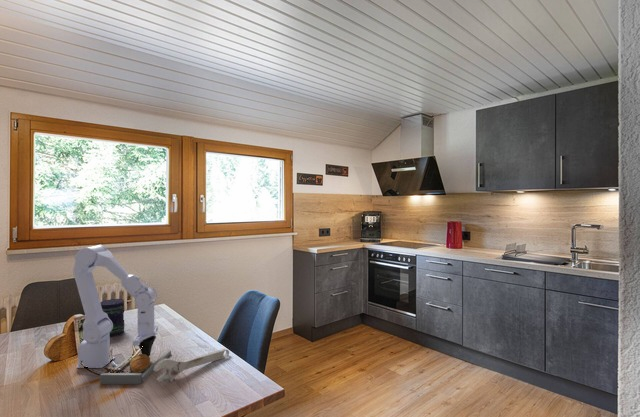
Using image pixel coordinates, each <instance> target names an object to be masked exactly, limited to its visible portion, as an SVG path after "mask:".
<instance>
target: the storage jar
mask: <svg viewBox="0 0 640 417" xmlns="http://www.w3.org/2000/svg"><path fill="white" fill-rule="evenodd" d="M100 303H101V307H102V310H103V312H105V313H106V314H108V317H109V319H110V320H111V321H112V323H113V329H112V330H111V332H110V339H111V338H115V337H118V336H121V335H123V334H125V319H124V314H125V313H124V312H125V299H124V298H110V299H105V300H103V301H100Z"/></svg>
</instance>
